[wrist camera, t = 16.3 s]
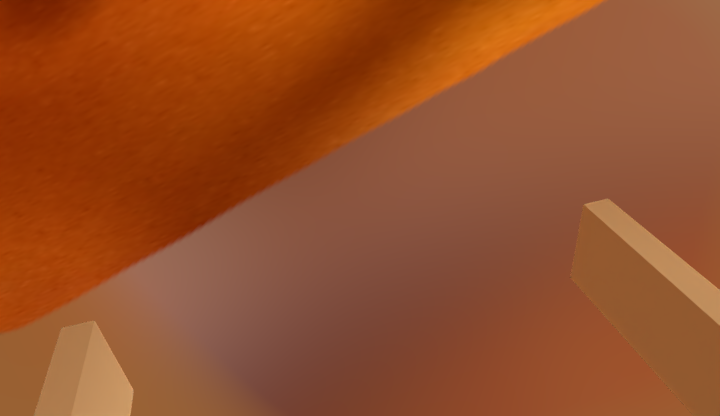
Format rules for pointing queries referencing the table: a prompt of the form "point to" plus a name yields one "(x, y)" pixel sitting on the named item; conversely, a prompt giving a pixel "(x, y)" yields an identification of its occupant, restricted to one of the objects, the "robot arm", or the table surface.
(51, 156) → the table surface
